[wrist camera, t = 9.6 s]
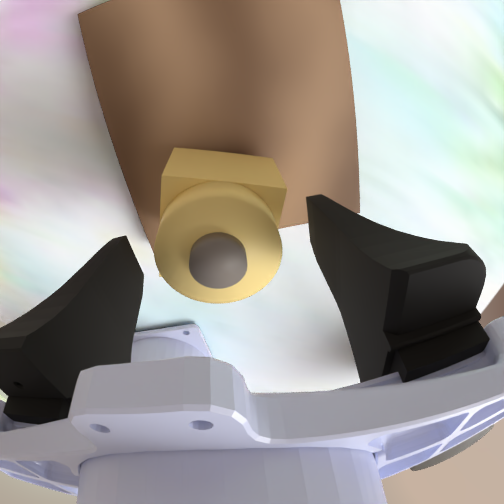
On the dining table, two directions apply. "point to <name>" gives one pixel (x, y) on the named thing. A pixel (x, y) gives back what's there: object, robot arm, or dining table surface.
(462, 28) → the dining table surface
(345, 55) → the board
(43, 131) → the dining table surface
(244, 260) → the yellow socket block
